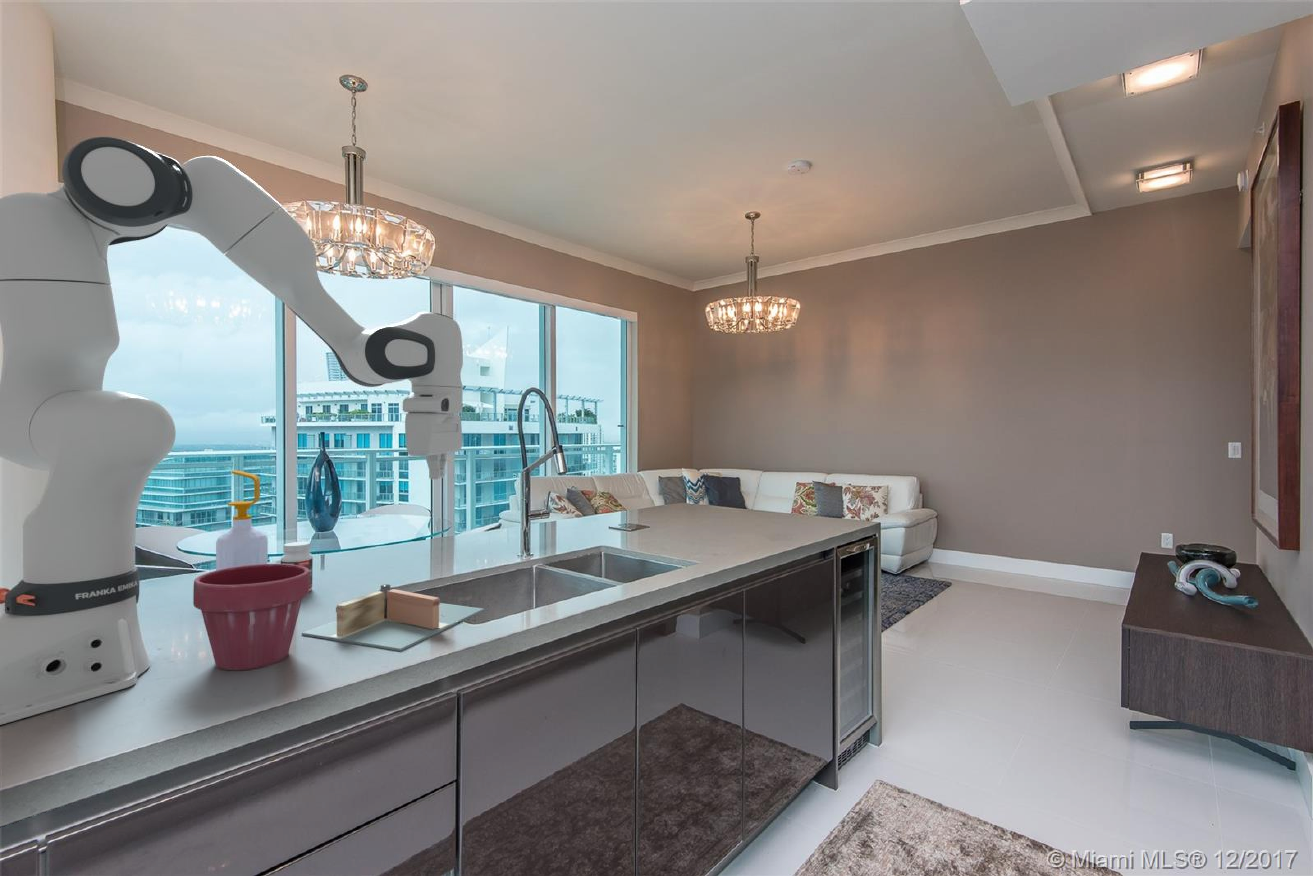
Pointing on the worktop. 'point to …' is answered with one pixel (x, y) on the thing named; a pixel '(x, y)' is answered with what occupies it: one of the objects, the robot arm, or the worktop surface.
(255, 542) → the soap bottle
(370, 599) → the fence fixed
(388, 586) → the fence post
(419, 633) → the board
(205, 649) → the worktop surface
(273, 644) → the plant pot
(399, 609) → the orange hinged panel
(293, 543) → the pill bottle
